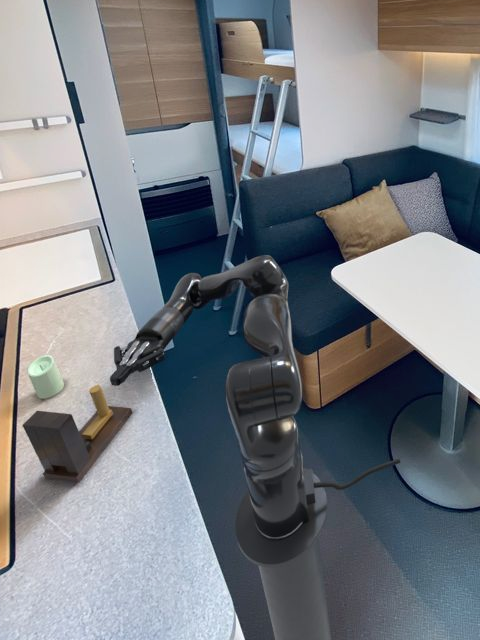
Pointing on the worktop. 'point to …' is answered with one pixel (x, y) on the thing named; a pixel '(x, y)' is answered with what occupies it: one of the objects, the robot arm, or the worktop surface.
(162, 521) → the worktop surface
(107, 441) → the latch
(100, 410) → the bolt
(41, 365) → the candle
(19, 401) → the worktop surface
